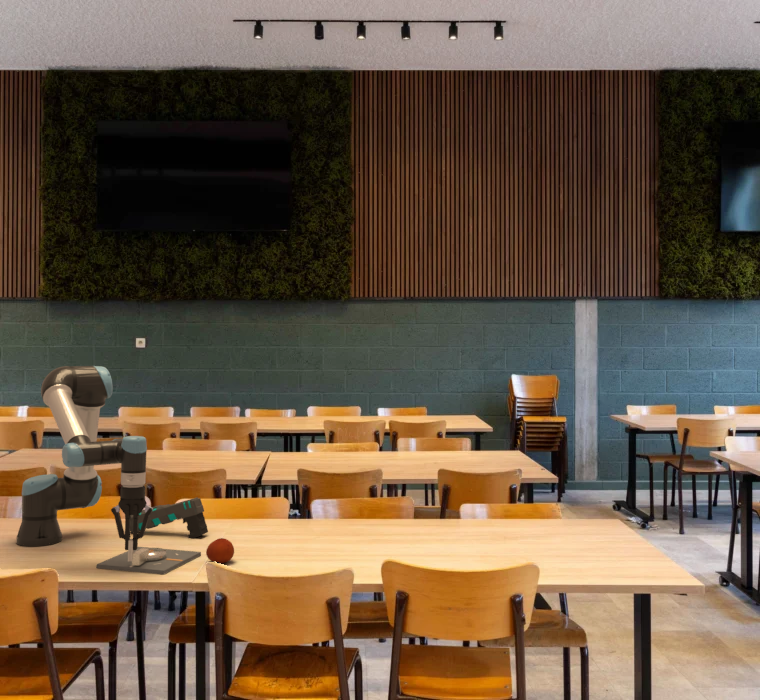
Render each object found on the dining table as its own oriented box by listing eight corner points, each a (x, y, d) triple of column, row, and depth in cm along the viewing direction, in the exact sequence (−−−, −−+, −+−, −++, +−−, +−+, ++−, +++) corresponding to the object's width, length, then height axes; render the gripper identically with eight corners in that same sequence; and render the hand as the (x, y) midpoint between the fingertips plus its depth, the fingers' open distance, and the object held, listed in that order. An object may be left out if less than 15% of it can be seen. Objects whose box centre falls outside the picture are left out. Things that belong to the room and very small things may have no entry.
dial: (142, 553, 272) (142, 541, 272) (170, 554, 271) (170, 542, 271) (120, 565, 257) (120, 553, 257) (150, 567, 255) (151, 554, 255)
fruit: (224, 557, 273) (224, 533, 273) (238, 563, 266) (238, 538, 266) (201, 561, 267) (201, 537, 267) (214, 567, 261) (214, 542, 260)
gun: (203, 535, 298) (192, 495, 299) (134, 555, 304) (123, 516, 306) (211, 531, 304) (200, 492, 306) (143, 550, 311) (132, 512, 312)
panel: (96, 568, 258) (96, 563, 258) (138, 550, 282) (138, 546, 282) (163, 574, 252) (163, 570, 252) (200, 555, 275) (200, 551, 275)
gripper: (109, 487, 253) (107, 563, 253) (151, 487, 254) (149, 563, 254) (114, 483, 260) (112, 557, 260) (155, 483, 262) (153, 557, 262)
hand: (130, 560), depth 257 cm, fingers closed
